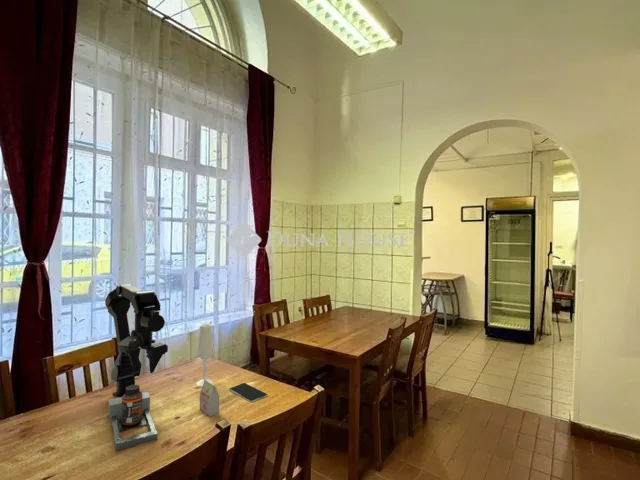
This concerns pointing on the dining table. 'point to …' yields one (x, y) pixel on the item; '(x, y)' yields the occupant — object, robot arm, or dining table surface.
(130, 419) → the supplement bottle
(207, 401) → the tea bag
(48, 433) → the dining table surface
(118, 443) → the grey rectangular frame
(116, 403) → the gray rotary dial box
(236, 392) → the smartphone
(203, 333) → the champagne flute
